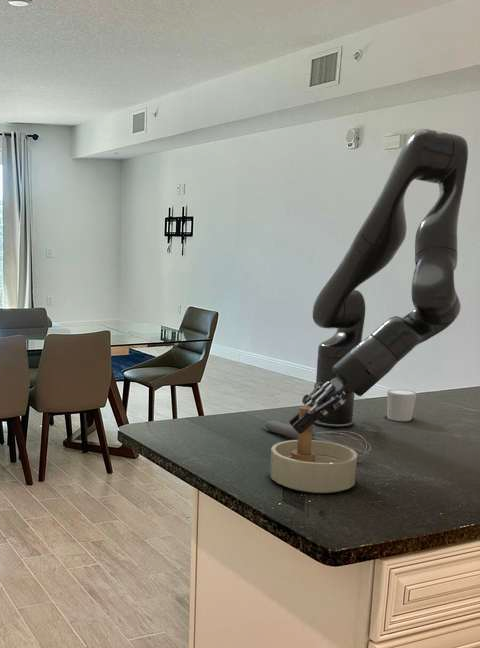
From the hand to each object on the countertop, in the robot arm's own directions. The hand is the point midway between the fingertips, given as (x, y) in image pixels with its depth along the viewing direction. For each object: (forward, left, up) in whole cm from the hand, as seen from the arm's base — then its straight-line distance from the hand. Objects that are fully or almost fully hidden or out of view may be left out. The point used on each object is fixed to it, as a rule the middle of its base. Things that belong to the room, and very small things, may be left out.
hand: (294, 427), depth 135 cm
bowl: (+2, +3, -10) cm, 11 cm away
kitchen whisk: (-18, +14, -11) cm, 25 cm away
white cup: (-35, +49, -11) cm, 61 cm away
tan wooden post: (+1, +2, -7) cm, 8 cm away
